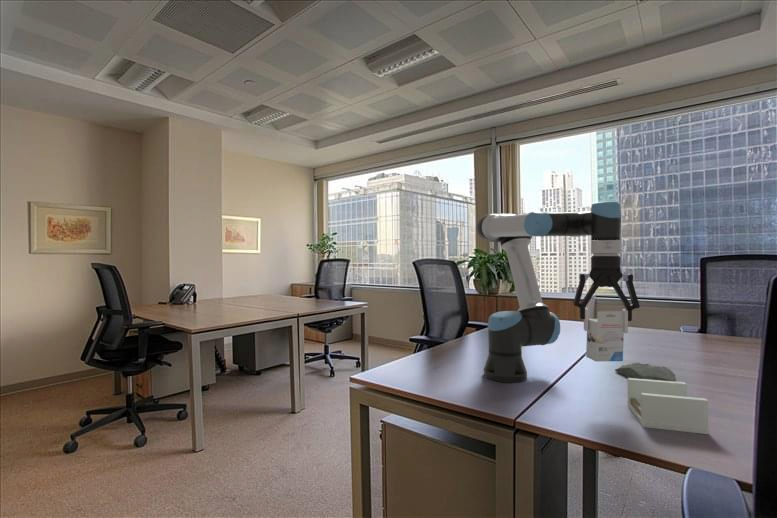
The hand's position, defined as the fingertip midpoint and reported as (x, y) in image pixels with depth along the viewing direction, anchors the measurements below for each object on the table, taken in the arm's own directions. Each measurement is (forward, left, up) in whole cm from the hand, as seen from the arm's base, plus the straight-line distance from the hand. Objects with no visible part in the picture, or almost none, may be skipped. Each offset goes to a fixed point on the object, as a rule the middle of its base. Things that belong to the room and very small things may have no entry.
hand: (605, 331), depth 113 cm
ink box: (0, 0, -9) cm, 9 cm away
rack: (+13, -5, -22) cm, 26 cm away
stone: (+20, +33, -23) cm, 44 cm away
